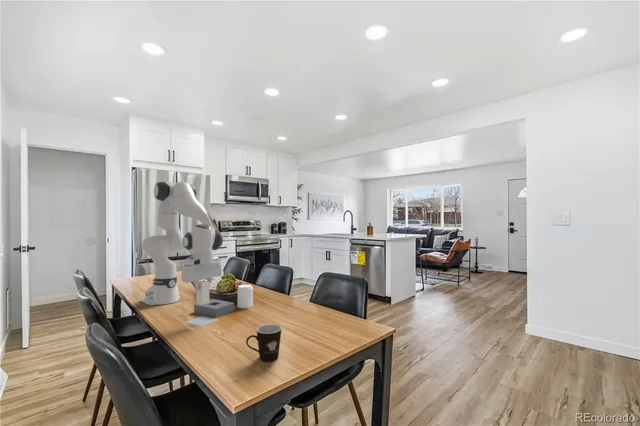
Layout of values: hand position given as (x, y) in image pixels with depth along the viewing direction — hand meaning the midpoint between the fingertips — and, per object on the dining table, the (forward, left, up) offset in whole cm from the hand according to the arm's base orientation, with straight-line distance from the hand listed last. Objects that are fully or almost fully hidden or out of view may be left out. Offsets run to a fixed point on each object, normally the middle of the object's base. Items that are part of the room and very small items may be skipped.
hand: (202, 288), depth 139 cm
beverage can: (+1, +28, -16) cm, 32 cm away
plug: (0, 0, -7) cm, 7 cm away
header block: (-6, +13, -16) cm, 21 cm away
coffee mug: (+48, -13, -16) cm, 52 cm away
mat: (0, 0, -16) cm, 16 cm away
